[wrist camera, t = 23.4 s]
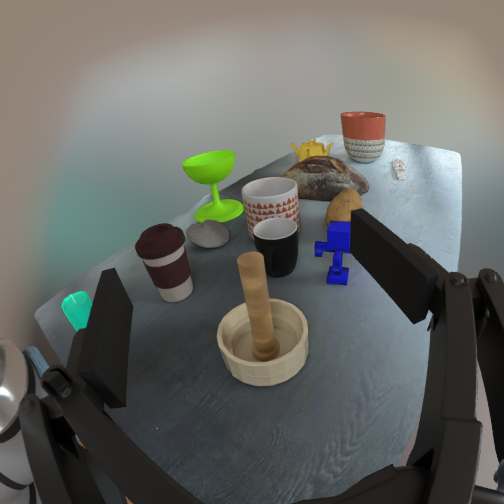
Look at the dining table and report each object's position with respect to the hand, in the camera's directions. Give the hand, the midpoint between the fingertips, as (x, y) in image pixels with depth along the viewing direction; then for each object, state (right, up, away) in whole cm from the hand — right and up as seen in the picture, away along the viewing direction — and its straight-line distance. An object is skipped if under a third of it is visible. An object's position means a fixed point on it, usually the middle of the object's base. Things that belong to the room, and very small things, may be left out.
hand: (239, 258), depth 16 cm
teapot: (+28, +40, +110) cm, 120 cm away
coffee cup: (-15, -8, +47) cm, 50 cm away
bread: (+26, +24, +86) cm, 93 cm away
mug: (+6, -4, +48) cm, 48 cm away
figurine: (+18, -5, +43) cm, 47 cm away
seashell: (-10, +3, +63) cm, 64 cm away
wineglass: (-10, +13, +78) cm, 80 cm away
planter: (+50, +40, +105) cm, 123 cm away
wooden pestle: (+3, -15, +30) cm, 34 cm away
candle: (-30, -17, +37) cm, 51 cm away
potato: (+25, +6, +59) cm, 65 cm away
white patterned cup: (+7, +6, +63) cm, 64 cm away
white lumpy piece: (+62, +35, +93) cm, 117 cm away
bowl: (+3, -16, +30) cm, 34 cm away
